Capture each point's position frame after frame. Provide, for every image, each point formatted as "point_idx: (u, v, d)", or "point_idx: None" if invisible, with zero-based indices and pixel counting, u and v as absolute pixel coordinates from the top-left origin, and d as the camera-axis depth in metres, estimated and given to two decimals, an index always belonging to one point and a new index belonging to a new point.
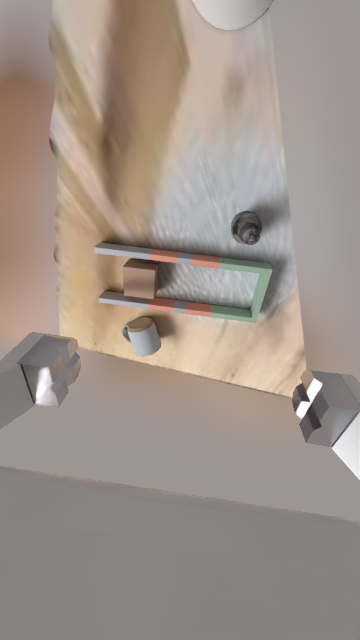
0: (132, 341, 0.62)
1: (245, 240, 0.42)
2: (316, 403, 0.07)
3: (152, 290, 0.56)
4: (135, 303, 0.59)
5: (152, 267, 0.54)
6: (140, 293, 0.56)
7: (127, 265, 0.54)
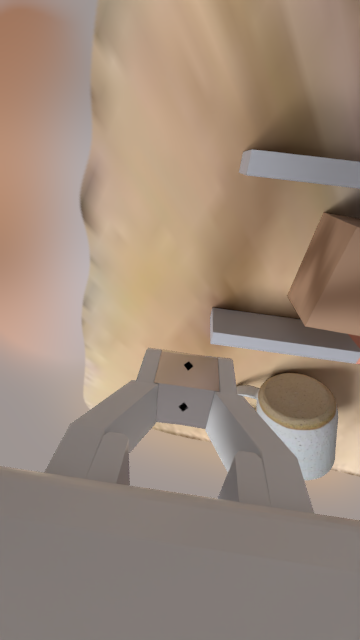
0: None
1: None
2: None
3: None
4: (323, 349, 0.20)
5: None
6: None
7: None
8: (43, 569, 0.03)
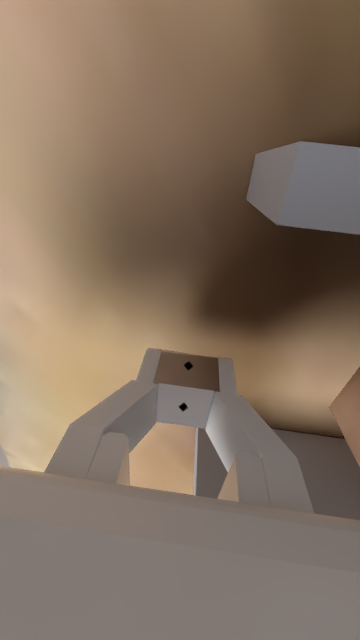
0: None
1: None
2: None
3: None
4: None
5: None
6: None
7: None
8: (43, 569, 0.03)
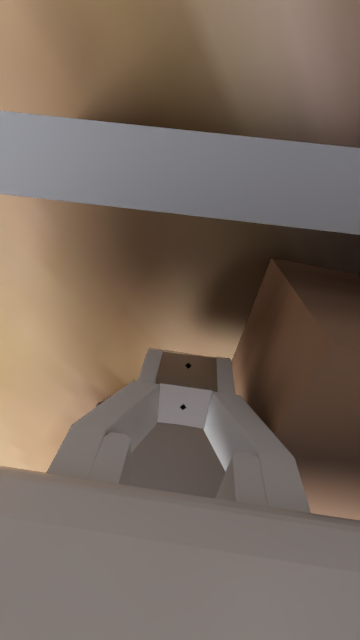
0: None
1: None
2: None
3: None
4: None
5: None
6: (358, 514, 0.08)
7: (345, 322, 0.05)
8: (43, 569, 0.03)
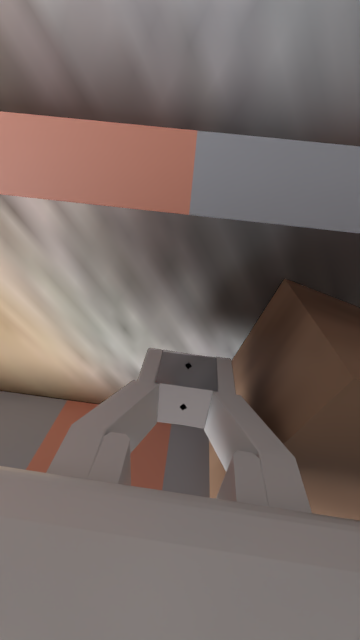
0: None
1: None
2: None
3: None
4: None
5: None
6: None
7: None
8: (43, 569, 0.03)
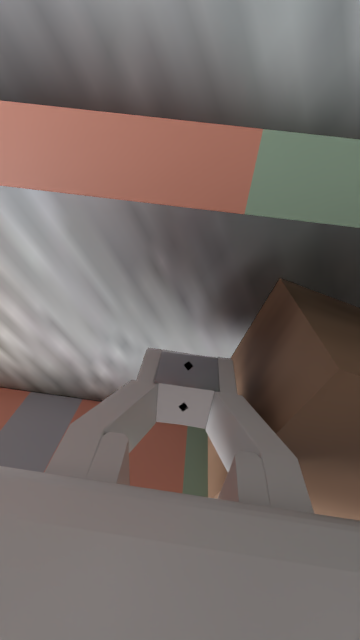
0: None
1: None
2: None
3: None
4: None
5: None
6: None
7: (347, 350, 0.06)
8: (43, 569, 0.03)
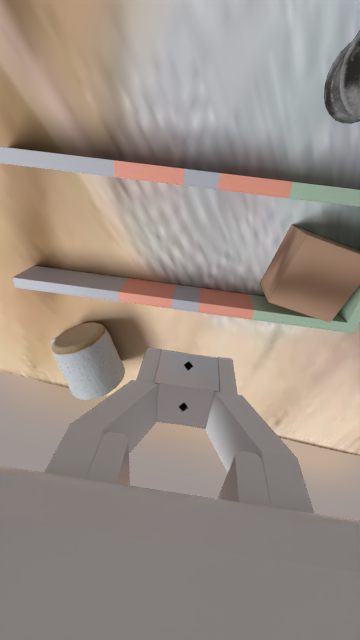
0: (62, 371, 0.31)
1: None
2: None
3: (340, 304, 0.24)
4: (92, 290, 0.27)
5: None
6: (308, 305, 0.25)
7: (311, 235, 0.22)
8: (43, 569, 0.03)
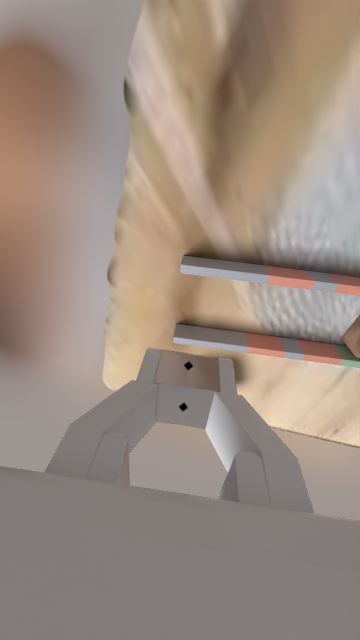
0: None
1: None
2: None
3: None
4: (229, 345, 0.39)
5: None
6: None
7: None
8: (43, 569, 0.03)
